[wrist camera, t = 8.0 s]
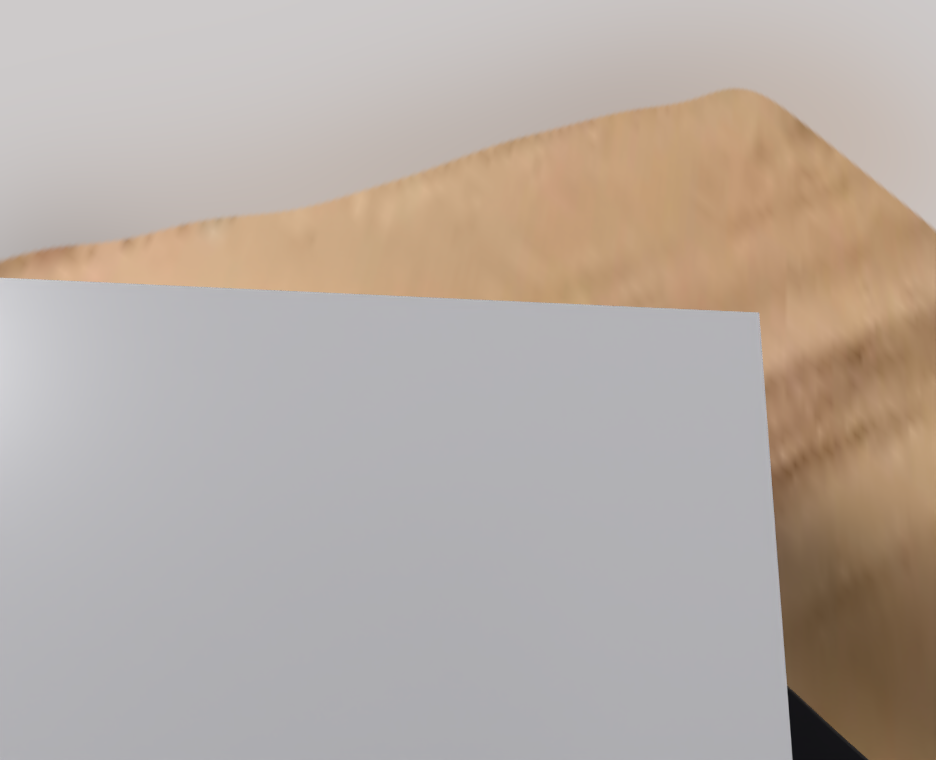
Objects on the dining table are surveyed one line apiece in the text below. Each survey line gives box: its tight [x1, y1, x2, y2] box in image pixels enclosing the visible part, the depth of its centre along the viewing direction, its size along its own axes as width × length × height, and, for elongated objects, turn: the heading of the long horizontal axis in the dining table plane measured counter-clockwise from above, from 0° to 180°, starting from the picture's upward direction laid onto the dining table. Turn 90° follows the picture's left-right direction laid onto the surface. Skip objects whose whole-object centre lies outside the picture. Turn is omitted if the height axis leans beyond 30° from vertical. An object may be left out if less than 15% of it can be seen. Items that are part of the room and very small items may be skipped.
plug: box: [0, 278, 792, 760], centre depth 9 cm, size 5×5×13 cm
